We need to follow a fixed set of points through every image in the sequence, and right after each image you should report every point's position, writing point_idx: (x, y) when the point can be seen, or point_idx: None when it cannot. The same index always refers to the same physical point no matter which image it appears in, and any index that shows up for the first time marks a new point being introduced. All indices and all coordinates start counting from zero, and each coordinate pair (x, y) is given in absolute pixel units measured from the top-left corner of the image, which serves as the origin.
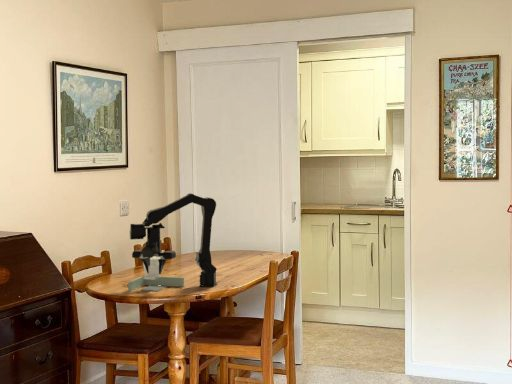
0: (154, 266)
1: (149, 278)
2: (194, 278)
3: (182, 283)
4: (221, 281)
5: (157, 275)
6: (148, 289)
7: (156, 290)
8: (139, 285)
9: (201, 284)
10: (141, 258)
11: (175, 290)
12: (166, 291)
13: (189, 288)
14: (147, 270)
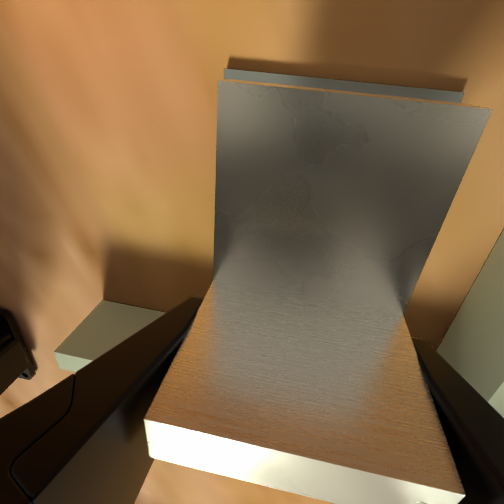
0: (269, 444)
1: (341, 94)
2: (161, 478)
3: (92, 317)
4: (2, 414)
5: (237, 281)
6: None
7: (242, 79)
8: (492, 277)
9: (5, 331)
10: None
11: (78, 153)
12: (133, 86)
13: (27, 246)
14: (448, 379)
